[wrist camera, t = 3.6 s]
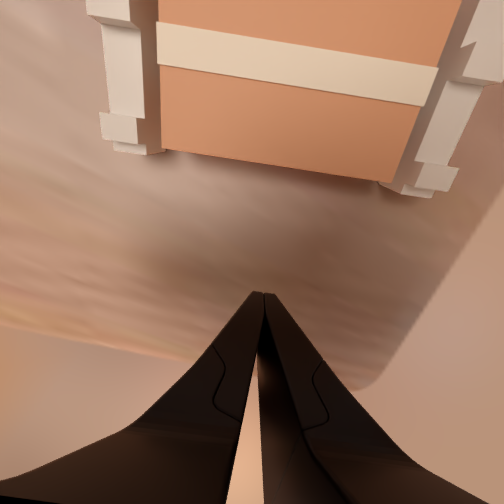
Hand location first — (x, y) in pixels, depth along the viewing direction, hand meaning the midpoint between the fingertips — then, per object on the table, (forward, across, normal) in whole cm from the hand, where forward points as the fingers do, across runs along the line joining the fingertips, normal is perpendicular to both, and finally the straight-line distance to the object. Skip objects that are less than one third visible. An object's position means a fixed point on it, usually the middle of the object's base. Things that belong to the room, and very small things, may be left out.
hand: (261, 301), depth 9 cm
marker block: (+7, 0, -8) cm, 11 cm away
